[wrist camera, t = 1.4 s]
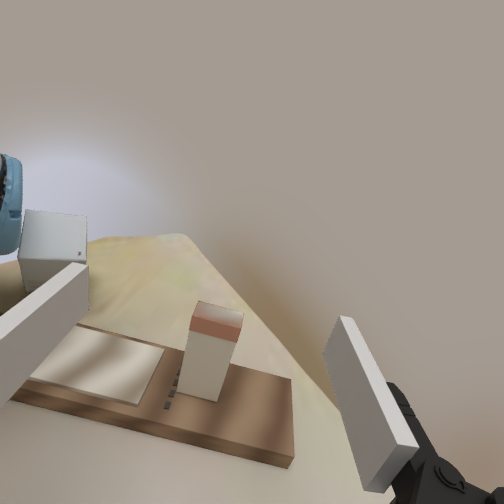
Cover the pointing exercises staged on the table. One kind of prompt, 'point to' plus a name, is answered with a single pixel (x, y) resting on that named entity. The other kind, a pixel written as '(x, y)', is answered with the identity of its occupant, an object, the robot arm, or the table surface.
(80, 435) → the table surface
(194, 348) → the stub
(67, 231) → the supplement box
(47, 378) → the board
